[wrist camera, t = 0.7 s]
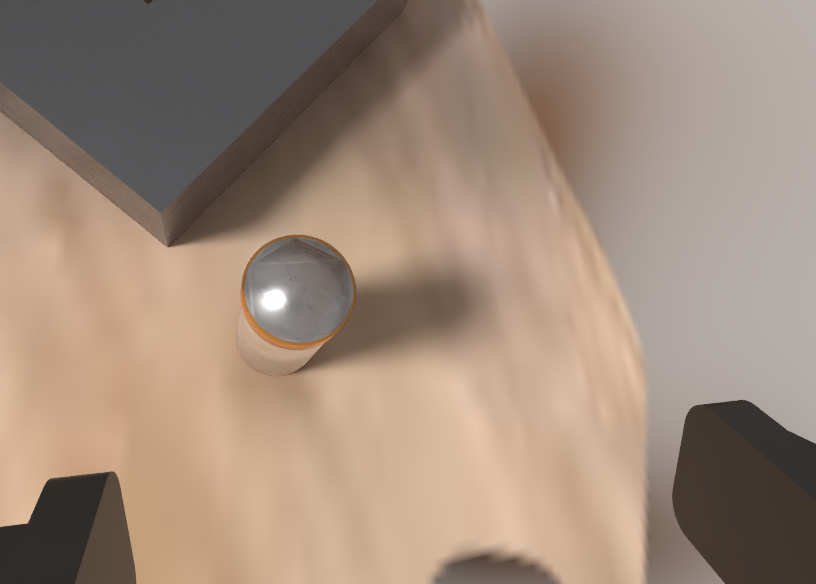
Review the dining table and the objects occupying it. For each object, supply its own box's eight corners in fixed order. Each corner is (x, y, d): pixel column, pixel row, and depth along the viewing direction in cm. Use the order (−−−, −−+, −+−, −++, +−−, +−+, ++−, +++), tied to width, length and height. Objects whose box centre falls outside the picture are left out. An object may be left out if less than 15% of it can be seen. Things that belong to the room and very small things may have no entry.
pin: (215, 341, 34) (216, 294, 25) (271, 279, 36) (292, 212, 26) (282, 395, 34) (308, 368, 25) (334, 331, 36) (377, 283, 27)
